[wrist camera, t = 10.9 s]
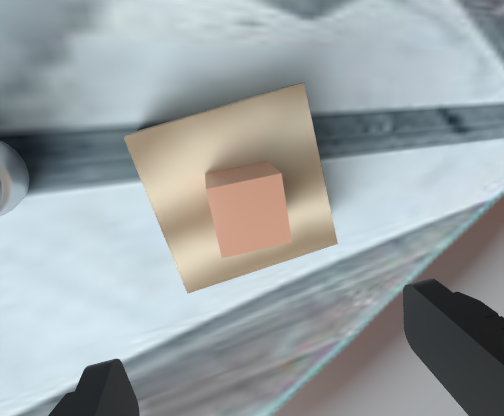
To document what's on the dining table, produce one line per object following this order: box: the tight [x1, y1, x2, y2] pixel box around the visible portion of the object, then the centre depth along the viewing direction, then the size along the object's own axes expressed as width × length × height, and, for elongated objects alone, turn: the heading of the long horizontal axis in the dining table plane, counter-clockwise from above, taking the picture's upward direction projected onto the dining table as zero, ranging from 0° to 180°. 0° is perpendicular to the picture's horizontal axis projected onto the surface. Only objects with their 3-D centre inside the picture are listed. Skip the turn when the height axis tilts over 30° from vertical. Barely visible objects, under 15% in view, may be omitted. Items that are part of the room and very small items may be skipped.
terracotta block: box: [205, 161, 292, 258], centre depth 24 cm, size 5×5×5 cm
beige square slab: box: [124, 83, 338, 293], centre depth 29 cm, size 14×14×6 cm
